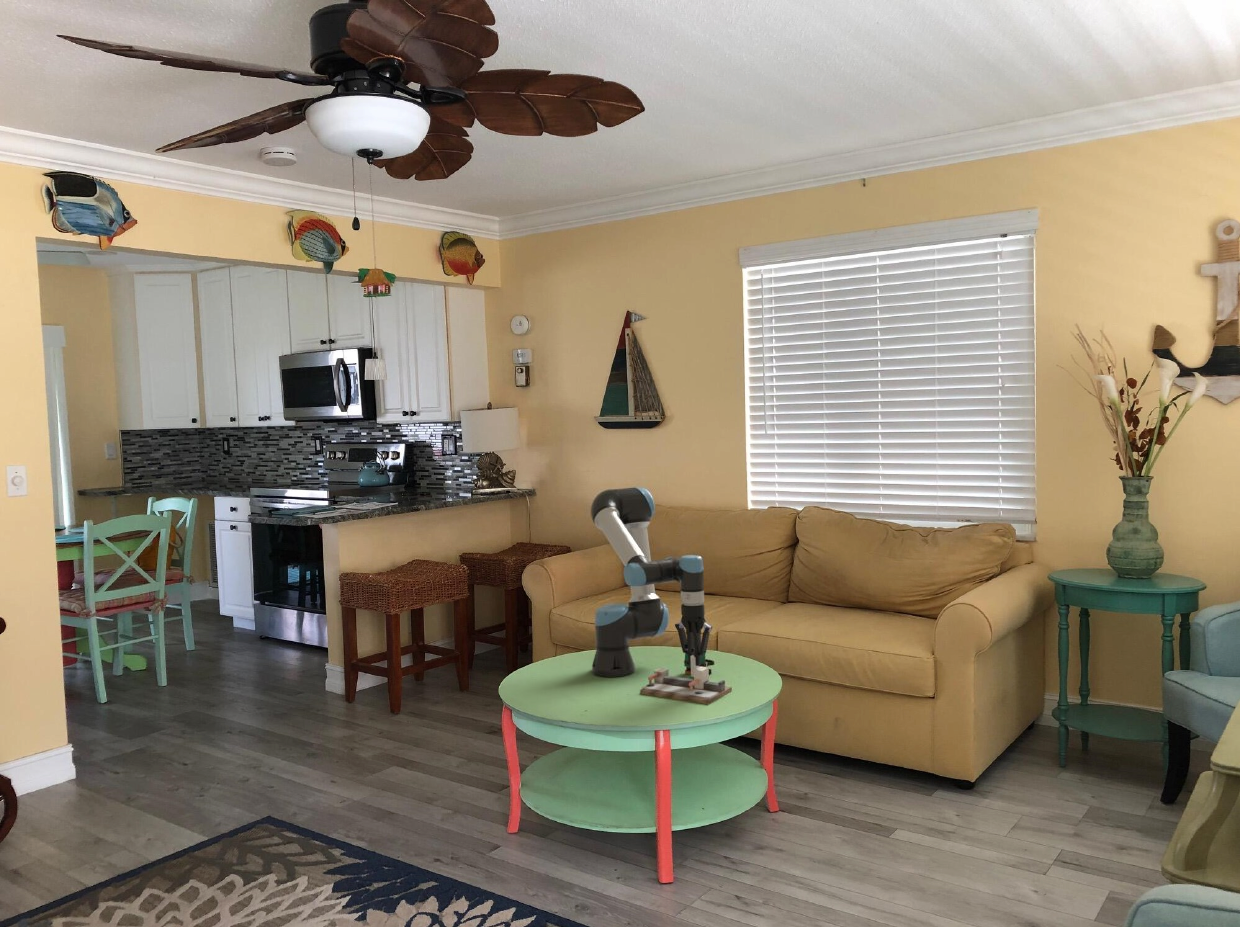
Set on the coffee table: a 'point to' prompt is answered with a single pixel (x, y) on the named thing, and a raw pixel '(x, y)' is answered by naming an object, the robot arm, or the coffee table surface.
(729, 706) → the coffee table surface
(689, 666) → the binoculars
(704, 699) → the gauge
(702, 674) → the slider head
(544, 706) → the coffee table surface
